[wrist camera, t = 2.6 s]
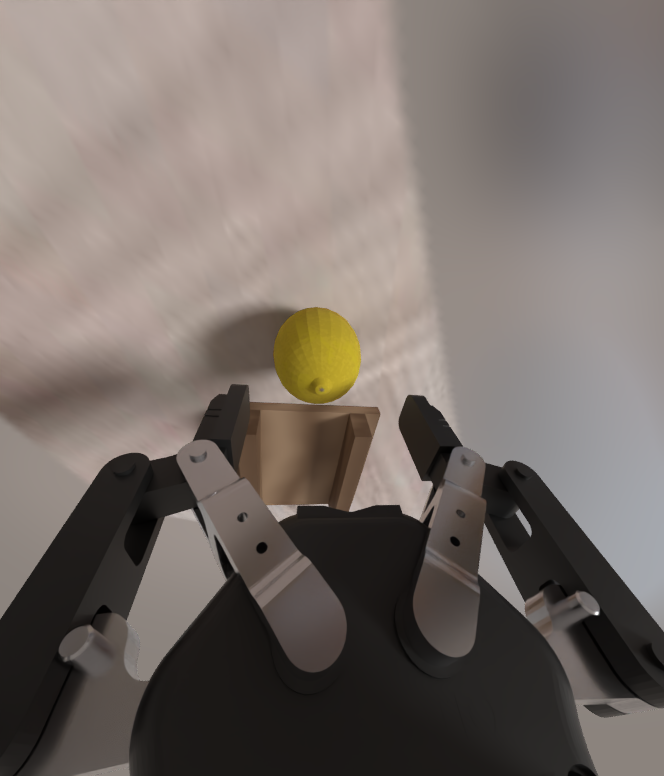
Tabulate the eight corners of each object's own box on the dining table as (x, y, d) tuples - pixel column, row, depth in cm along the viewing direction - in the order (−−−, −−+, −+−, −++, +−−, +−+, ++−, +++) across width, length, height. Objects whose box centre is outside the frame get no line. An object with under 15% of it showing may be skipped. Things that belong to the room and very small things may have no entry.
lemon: (363, 318, 20) (394, 375, 14) (323, 370, 23) (333, 440, 16) (301, 276, 18) (304, 320, 12) (264, 339, 20) (249, 405, 14)
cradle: (237, 497, 32) (231, 531, 29) (226, 401, 23) (215, 433, 20) (350, 496, 34) (355, 527, 31) (377, 407, 26) (389, 437, 23)
